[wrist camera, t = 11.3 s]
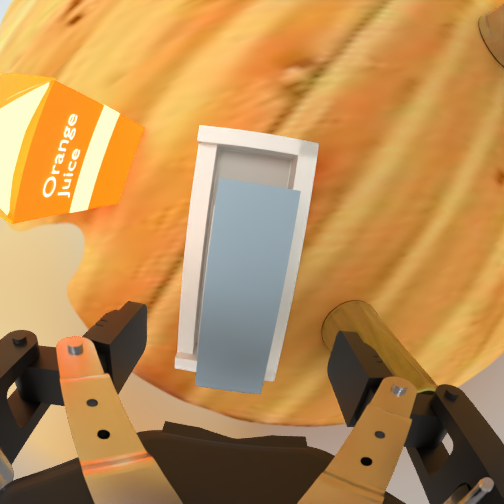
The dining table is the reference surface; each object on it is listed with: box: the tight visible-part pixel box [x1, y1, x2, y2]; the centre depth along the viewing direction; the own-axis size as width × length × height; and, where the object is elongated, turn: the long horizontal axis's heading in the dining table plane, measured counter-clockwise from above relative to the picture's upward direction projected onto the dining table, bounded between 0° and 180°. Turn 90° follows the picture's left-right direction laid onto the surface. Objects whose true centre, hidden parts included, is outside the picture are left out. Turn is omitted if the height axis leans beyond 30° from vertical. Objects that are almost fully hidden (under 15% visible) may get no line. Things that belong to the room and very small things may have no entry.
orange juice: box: [0, 73, 145, 224], centre depth 15 cm, size 8×9×20 cm
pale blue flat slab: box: [195, 178, 301, 394], centre depth 20 cm, size 4×12×10 cm, turn 171°
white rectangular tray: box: [175, 125, 319, 382], centre depth 25 cm, size 9×20×4 cm, turn 171°
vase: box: [322, 301, 438, 395], centre depth 22 cm, size 6×6×14 cm
